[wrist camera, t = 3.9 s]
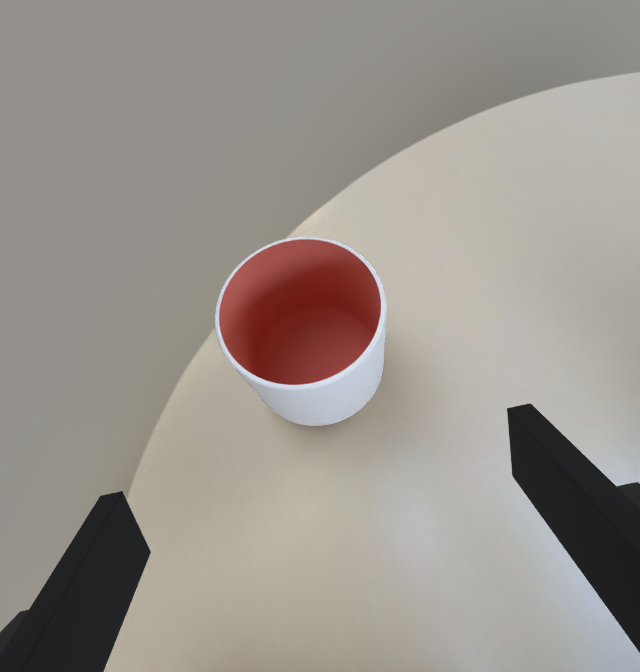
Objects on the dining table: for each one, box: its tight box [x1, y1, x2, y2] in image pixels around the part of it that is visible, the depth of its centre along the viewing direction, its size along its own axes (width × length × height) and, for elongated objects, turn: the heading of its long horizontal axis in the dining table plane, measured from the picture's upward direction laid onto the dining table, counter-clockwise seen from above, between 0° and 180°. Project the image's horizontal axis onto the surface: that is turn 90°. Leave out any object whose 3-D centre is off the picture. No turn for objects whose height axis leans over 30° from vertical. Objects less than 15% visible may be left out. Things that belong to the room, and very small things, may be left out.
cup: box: [215, 237, 386, 426], centre depth 29 cm, size 10×10×10 cm
